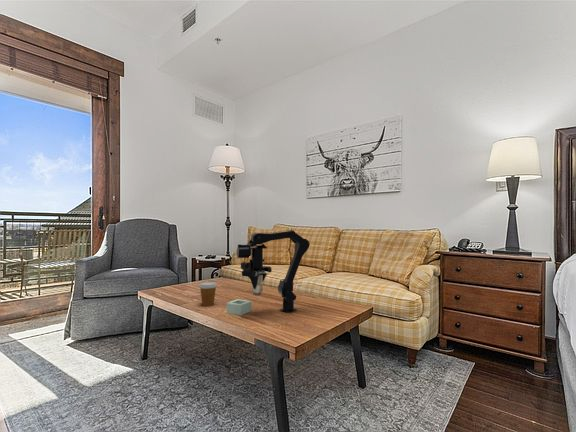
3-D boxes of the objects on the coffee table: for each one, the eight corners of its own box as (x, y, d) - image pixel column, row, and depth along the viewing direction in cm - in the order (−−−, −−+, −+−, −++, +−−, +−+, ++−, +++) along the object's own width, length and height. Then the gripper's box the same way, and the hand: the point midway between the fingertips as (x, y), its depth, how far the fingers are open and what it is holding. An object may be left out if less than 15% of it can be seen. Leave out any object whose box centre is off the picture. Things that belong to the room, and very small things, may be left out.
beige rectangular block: (256, 293, 159) (256, 274, 159) (262, 294, 157) (262, 275, 157) (251, 295, 156) (251, 275, 156) (257, 296, 154) (258, 276, 154)
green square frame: (237, 308, 166) (237, 299, 166) (251, 310, 161) (251, 301, 161) (226, 312, 158) (226, 302, 158) (240, 315, 153) (240, 305, 153)
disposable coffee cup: (205, 302, 179) (205, 281, 179) (219, 303, 176) (219, 282, 177) (195, 306, 170) (196, 284, 170) (211, 307, 167) (211, 285, 167)
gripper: (255, 255, 169) (255, 283, 169) (233, 258, 153) (232, 289, 152) (272, 256, 163) (272, 285, 163) (251, 259, 147) (251, 292, 147)
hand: (257, 288), depth 157 cm, fingers closed on beige rectangular block, 4 cm apart
